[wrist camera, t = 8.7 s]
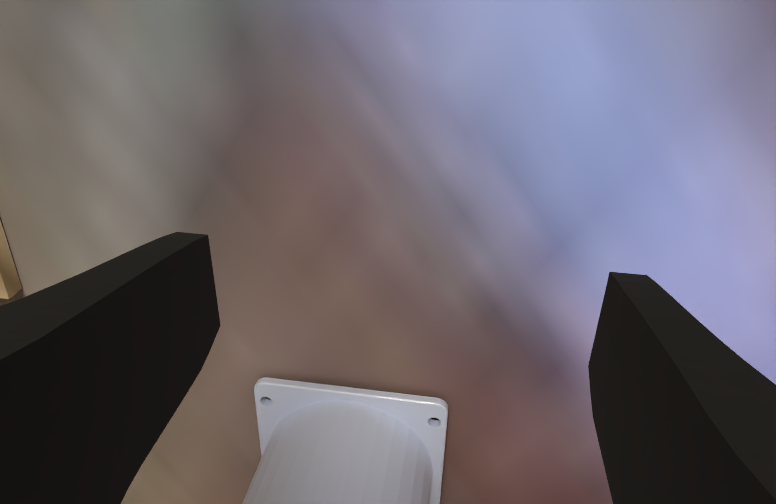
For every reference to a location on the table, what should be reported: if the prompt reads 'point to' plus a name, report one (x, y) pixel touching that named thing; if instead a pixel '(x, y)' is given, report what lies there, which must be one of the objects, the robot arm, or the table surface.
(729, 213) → the table surface
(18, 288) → the tan flat piece
